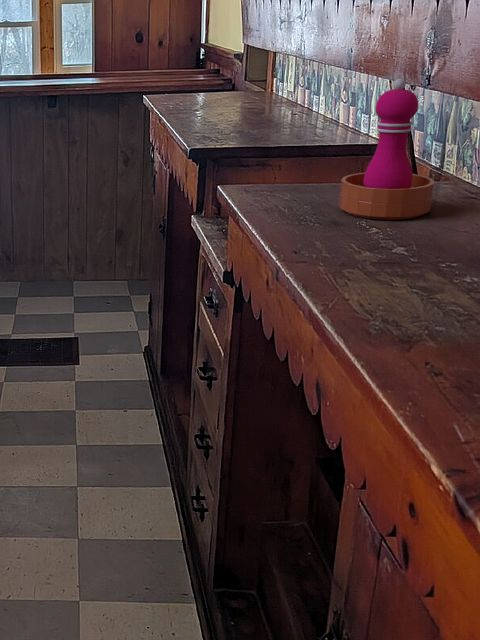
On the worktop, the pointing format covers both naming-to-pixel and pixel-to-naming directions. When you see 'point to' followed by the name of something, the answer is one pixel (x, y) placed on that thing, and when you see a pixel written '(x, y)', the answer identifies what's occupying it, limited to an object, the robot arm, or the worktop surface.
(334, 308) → the worktop surface
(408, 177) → the pepper mill
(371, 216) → the bowl
